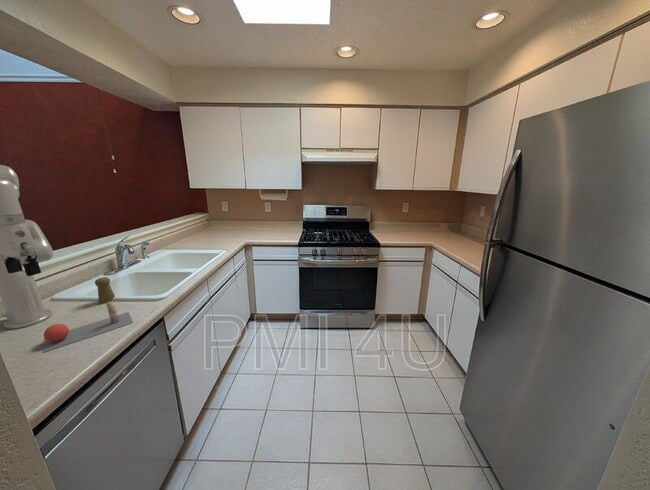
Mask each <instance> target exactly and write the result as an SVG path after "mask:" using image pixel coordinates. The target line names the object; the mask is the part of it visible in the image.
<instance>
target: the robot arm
mask: <svg viewBox="0 0 650 490" xmlns="http://www.w3.org/2000/svg"><path fill="white" fill-rule="evenodd" d="M20 195H21V194H20V180H19V177H18V175H17V173H16V172H15V171H14V170H13V169H12V168H11V167H9V166H7V165H3V164H0V301H1V303H2V306H3V308H4V313H2V314H0V317H1V318H6V319H7V320H6V321H5V322H4V323H3V327H4V328H6V329H9V330H10V329H12V330H13V329H20V328H25V327H28V326H32V325H36V324H38V323H40V322H41V323H42V322H43V321H45V320H46V319H49V317H51V316H52V314H53V312H52V310H51V309H48V308H47V309H46V308H45V306H44V305H45V304H44V303H43V300H42V297H41V294H40V292H39V289H38V285H37V283H36V280H35V277H34V276H35V275H40V274H41V273H42V270H41V267H40V265H39V263H44V262H47V261H50V260H51V259H52V258H53V257H54V250H53V248H52V246H51V244H50V242H49V241H48V238H46V235H45V234H44V233H43V231H42V230H41V228H40V226H39V225H38V224H37V223H36V222H35V221H33V220H30V219H25V216H24V213H23V209H22V207H21V204H20V202H19V198H20Z"/></svg>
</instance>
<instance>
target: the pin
mask: <svg viewBox="0 0 650 490" xmlns="http://www.w3.org/2000/svg"><path fill="white" fill-rule="evenodd" d="M105 305H106V307H107V312H108V315H109V318H110V320H111V323H112V324H114V323H117V322H119V318H118V315H119V314H118V311H117V307H116V303H115V300H114V301H111V302H108V303H105Z"/></svg>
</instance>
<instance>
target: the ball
mask: <svg viewBox="0 0 650 490" xmlns="http://www.w3.org/2000/svg"><path fill="white" fill-rule="evenodd" d="M69 330H70V329H69V327H68V326H67V325H65V324H63V323H54V324H52V325H50V326H49V327H47V328H46V329H45V330H44V332H43V337H44V340H45V339H46V340H47V341H49V342H58V341H61V340H63V339H64V338H65V337H66V336H67V335H68V333H69Z"/></svg>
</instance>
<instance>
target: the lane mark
mask: <svg viewBox="0 0 650 490" xmlns="http://www.w3.org/2000/svg"><path fill="white" fill-rule="evenodd" d="M118 318H119V322H117V323H114V324H112V323H111V320H110V317H108V318H104V319H101V320H98V321H94V322H90V323H88V324H85V325H81V326H78V327H75V328H71V329H69V333H68V335H67V336H66V337H65V338H64V339H63V340H61V341H58V342H49V341H47V340H46V339H45V338H44V344H43V353H48V352H49V351H53V350H55V349H59V348H62V347H65V346H68V345H70V344H74V343H76V342H80V341H83V340H86V339H89V338H92V337H94V336H95V337H96V336H97V335H101V334H103V333H107V332H110V331H113V330H116V329H119V328H122V327H125V326H128V325H131V324H133V323H134V321H133V319H132V316H131V315H130V313H129V311H127V312H124V313H120V314H118Z"/></svg>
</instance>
